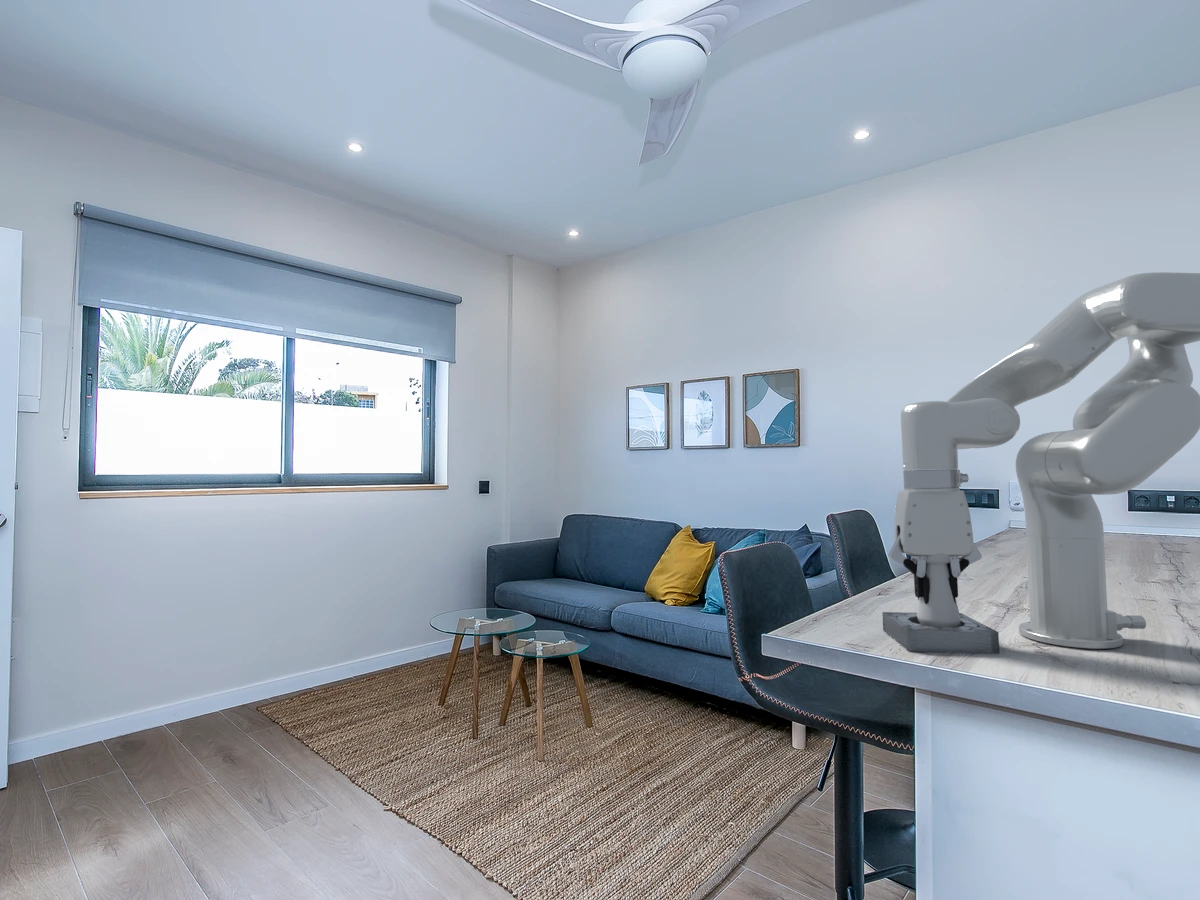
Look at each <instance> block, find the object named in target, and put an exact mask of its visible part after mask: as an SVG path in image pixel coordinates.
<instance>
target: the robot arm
mask: <svg viewBox="0 0 1200 900" xmlns="http://www.w3.org/2000/svg"><path fill="white" fill-rule="evenodd" d="M1123 338H1126V339H1127V344H1128V349H1129V357H1128V361H1126V362H1127V363H1126V364H1125V365H1124V366H1123V367H1122V368H1121V369H1120V370H1119V371H1118V372H1117V373H1116V374H1115V375H1113V376H1112V377H1111V378H1110V379H1109V380H1107V381H1106V382H1105V383H1104V384H1102V385H1101V386H1100V387H1099V388H1098V389H1097V390H1096V391H1094V392H1093V393H1092V394H1090V395H1089V396H1088V397H1087V398H1086V399H1085V400H1084V401H1083V402H1082V403H1081V404H1080V405H1079V407H1078V408H1077V409H1076V411H1075V413H1074V414H1073V418H1072V428H1073V429H1071V430H1062V431H1060V430H1059V431H1051V432H1047V433H1046V432H1045V433H1041V434H1039V435H1036V436H1034V437H1032V438H1030V439H1029V440H1027V441H1026V442H1025V443H1024V444H1023V445H1022V446H1021V447H1020V449H1019V450H1018V452H1017V454H1016V459H1015V472H1016V476H1017V481H1018V484H1019V488H1020V492H1021V496H1022V501H1023V502H1022V503H1023V507H1024V517H1025V518H1024V519H1025V539H1026V543H1025V544H1026V559H1027V560H1026V562H1027V580H1028V581H1027V582H1028V600H1029V601H1028V603H1029V619H1030V621H1025V622H1022V623H1020V624H1019V625H1018V630H1019V631H1018V632H1019V633H1020V635H1021V636H1023V637H1025V638H1028V639H1030V640H1033V641H1037V642H1041V643H1044V644H1050V645H1055V646H1062V647H1069V648H1078V649H1079V648H1080V649H1094V650H1095V649H1096V650H1097V649H1099V650H1100V649H1101V650H1103V649H1104V650H1105V649H1115V648H1119V647H1121V646H1123V644H1124V638H1123V637H1124V636H1122V634H1120V633H1118V631H1122V630H1123V629H1130V630H1133V629H1135V630H1139V629H1140V630H1144V629H1145V628H1146V626H1147V622H1146V619H1145V617H1143V615H1128V614H1127V615H1123V614H1122V613H1118V612H1116V611H1113V610H1111V609H1108V593H1107V577H1106V561H1105V560H1106V559H1105V557H1106V556H1105V542H1104V541H1105V540H1104V539H1105V537H1104V536H1105V535H1104V534H1105V533H1104V530H1105V529H1104V523H1103V518H1102V514H1101V511H1100V510H1099V506H1098V505H1097V503H1096V501H1095V499H1094V497H1093V495H1098V496H1100V495H1103V496H1104V495H1110V496H1111V495H1118V494H1122V493H1126V492H1128V491H1130V490H1132V489H1135V488H1136V487H1137V486H1139V485H1141V484H1142V483H1143V482H1145V481H1146V480H1147V479H1149V478H1150V477H1151V476H1152V475H1153V474H1154V473H1155V472H1157V470H1160V468H1161V467H1162V466H1164V465H1165V464H1166V463H1167V462H1168V461H1169V460H1171V458H1173V457H1174V456H1175V455H1176V454H1177V453H1178V452H1180V451H1181V450H1182V449H1183V448H1185V446H1187V444H1189V443H1190V442H1191V441H1192V440H1193V438H1195V436H1196V435H1197V434H1198V433H1199V431H1200V394H1199V392H1198V390H1196V389H1195V387H1192V384H1193V381H1194V373H1193V369H1192V367H1191V365H1190V364H1191V363H1190V362H1189V358H1188V353H1187V351H1186V348H1185V345H1188V344H1193V343H1195V342H1200V272H1166V271H1165V272H1162V271H1161V272H1145V273H1144V272H1143V273H1137V274H1133V275H1128V276H1126V277H1123V278H1121V279H1118V280H1115V281H1112V282H1109V283H1106V284H1105V285H1102V286H1100V287H1097V288H1094V289H1092V290H1088V291H1087V292H1085V293H1082V294H1081V295H1080V296H1079V297H1077V298H1075V300H1073V301H1072V302H1071V303H1070V304H1069V305H1067V306H1066V307H1064V309H1063V310H1062V311H1060V312H1059V314H1057V315H1055V317H1053V319H1052V320H1051V321H1049V322H1048V323H1047V324H1046V325H1044V326H1043V327H1042V328H1041V329H1040V330H1039V331H1038V332H1037V333H1036V334H1034V335H1033V336H1032V337H1031V338H1030V339H1028V340H1027V341H1026V342H1025V343H1023V344H1022V345H1021V346H1020V347H1019V348H1017V349H1016V350H1014V351H1012V352H1011V353H1009V354H1008V355H1006V356H1005V357H1003V358H1002V359H1001V360H1000V361H998V362H997V363H995V364H994V365H993V366H991V367H990V368H988V369H986V370H985V371H983V372H982V373H980V374H979V375H977V376H976V377H974V378H973V379H972V380H970V381H969V382H967V383H966V384H965V385H963V386H962V387H961V388H960V389H959V390H958V391H956V393H954V394H953V395H952V396H951V397H950V398H949V399H948V400H946V401H943V400H932V401H931V400H930V401H920V402H919V401H917V402H914V403H913V402H912V403H909V404H907V405H904V406H903V408H902V409H901V412H900V427H901V428H900V429H901V431H900V432H901V450H902V451H901V452H902V453H901V454H902V470H903V472H902V473H903V475H902V476H903V490H900V491H898V492H897V498H896V503H895V510H894V511H895V512H894V530H893V531H894V532H893V534H894V539H893V540H894V543H893V545H892V547H891V549H890V551H889V553H888V558H889V559H890V560H892V561H894V562H897V563H898V564H901V565H903V566H904V567H905V568H906V569H907V570H908V571H909V572H910V573H911V574H912V575H913V582H914V595H915V597H916V598H917V600H918V601H919V597H923V598H924V602H925V604H927V603H928V602H929V592H930V582H929V578H928V577H926V573H925V569H926V557H928V556H931V555H936V554H937V553H944V554H945V555H948V556H950V562H949V563H947V566H948V570H949V575H950V577H949V584H950V588H951V592H952V596H953V599H954V602H955V604H956V602H957V599H956V598H958V597H959V585H958V583H959V582H958V578H960V577H961V574H962V573H963V571H964V570H966V569H967V567H968V566H970V565H972V564H973V563H976V562H978V561H980V560H981V559H982V558H983V555H982V553H981V552H980V550H979V549H978V547H977V545H976V544H975V542H974V535H973V533H974V532H973V523H972V519H971V513H970V509H969V505H968V501H967V497H966V494H965V491H964V490H960V488H961V487H962V485H961V484H963V483H969V474H968V473H962V472H961V469H959V459H958V458H959V457H958V450H968V449H985V448H993V447H998V446H1001V445H1003V444H1006V443H1008V442H1009V441H1011V440H1012V439H1013V438H1014V437H1015V436H1016V435H1017V433H1018V431H1019V430H1020V426H1021V418H1020V417H1021V416H1020V414H1019V412H1018V411H1017V409H1016V408H1015V407H1017V406H1019V405H1021V404H1023V403H1025V402H1028V401H1030V400H1033V399H1036V398H1039V397H1042V396H1044V395H1046V394H1049V393H1051V392H1053V391H1055V390H1057V389H1059V388H1062V387H1063V386H1065V385H1067V384H1068V383H1070V382H1071V381H1072V380H1074V379H1075V378H1076V377H1077V376H1078V375H1079V374H1081V372H1082V371H1084V370H1085V369H1086V368H1087V367H1088V366H1089V365H1090V364H1091V363H1093V362H1094V361H1095V359H1097V358H1098V357H1100V355H1102V354H1103V353H1104V352H1105V351H1106V350H1108V349H1109V348H1110V347H1111V346H1112V345H1113V344H1115V343H1116V342H1117V341H1119V340H1121V339H1123ZM903 554H906V555H907V556H910V557H911V558H908V557H906V556H905V555H903Z"/></svg>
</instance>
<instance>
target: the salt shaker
mask: <svg viewBox="0 0 1200 900" xmlns="http://www.w3.org/2000/svg"><path fill="white" fill-rule="evenodd" d="M949 562H950V556H948V555H945V554H944V553H937V554H936V555H931V556H928V557H926V569H925V573H926V577H928V578H929V582H930V592H929V602H928V603H927V604H925V602H924V598H923V597H919V600H918V604H917V611H916V613H917V618H918V620H919V622H920V624H921V625H924V626H932V627H950V628H954V627H958V626H959V623H960V619H961V618H960V614H959V613H960V611H959V610H960V609H959V606H958V603H957V601H956V604H955V602H954V599H953V596H952V592H951V588H950V584H949V577H950V575H949V570H948V566H947V563H949Z"/></svg>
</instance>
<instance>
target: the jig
mask: <svg viewBox="0 0 1200 900" xmlns="http://www.w3.org/2000/svg"><path fill="white" fill-rule="evenodd" d="M959 614H960V618H961V619H960V623H959V626H958V627H954V628H950V627H932V626H924V625H921V624H920V622H919V620H918V618H917V612H907V611H906V612H900V611H899V612H898V611H897V612H896V611H895V612H894V611H893V612H892V611H889V612H888V611H883V612H882V631H883V630H884V631H885V632H886V635H888V636H889V635H890V636H891V637H890V636H889V637H890V638H891V639H893V640H894V639H895V640H896V643H898V644H899V645H900V644H901V645H900V646H902V647H903V648H904V649H905V648H906V649H905V650H906V651H908V652H909V653H911V652H912V653H917V652H918V653H951V654H952V653H953V654H954V653H955V654H956V653H957V654H958V653H960V654H961V653H962V654H963V653H965V654H967V653H968V654H998V653H999V654H1000V640H999V634H1000V633H999V631H998V630H996V629H993V628H991V627H990V626H988V625H985V624H984V623H981V622H979V621H977V620H975V619H973V618H971V617H969V616H967V614H964V613H961V612H959ZM884 631H883V632H884ZM885 632H884V633H885ZM895 640H894V641H895Z"/></svg>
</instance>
